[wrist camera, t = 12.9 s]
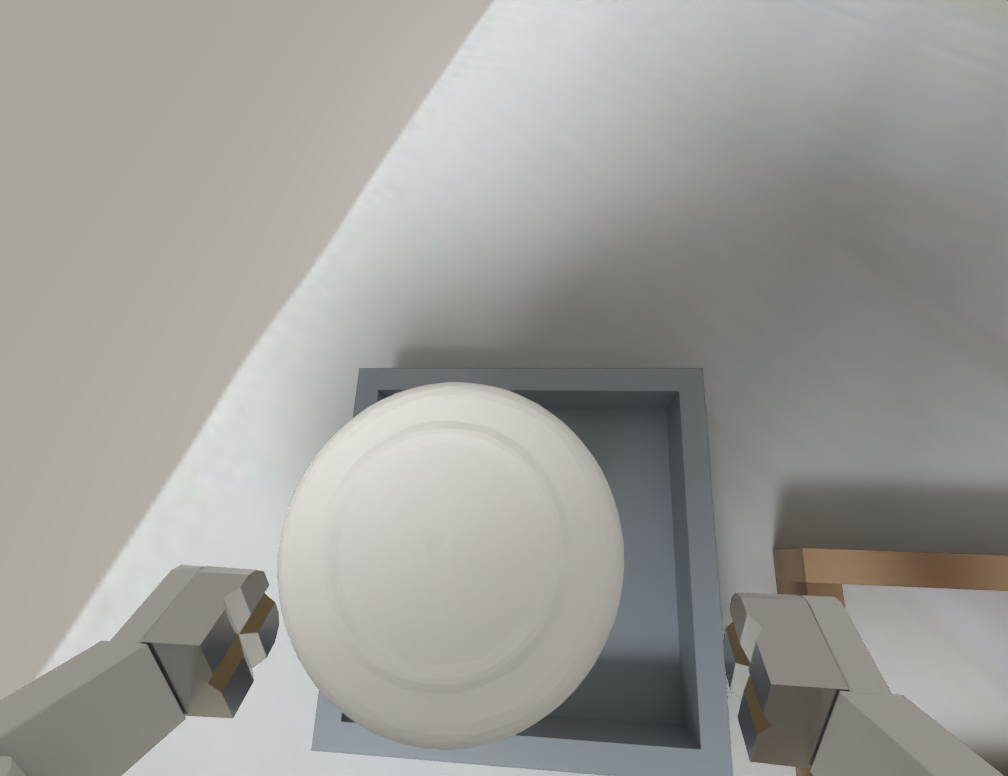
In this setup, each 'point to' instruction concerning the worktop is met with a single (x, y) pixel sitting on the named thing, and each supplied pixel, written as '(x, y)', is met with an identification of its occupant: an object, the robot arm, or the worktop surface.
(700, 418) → the slate tray
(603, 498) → the sprinkles bottle
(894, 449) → the worktop surface
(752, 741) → the robot arm
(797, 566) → the walnut collar
